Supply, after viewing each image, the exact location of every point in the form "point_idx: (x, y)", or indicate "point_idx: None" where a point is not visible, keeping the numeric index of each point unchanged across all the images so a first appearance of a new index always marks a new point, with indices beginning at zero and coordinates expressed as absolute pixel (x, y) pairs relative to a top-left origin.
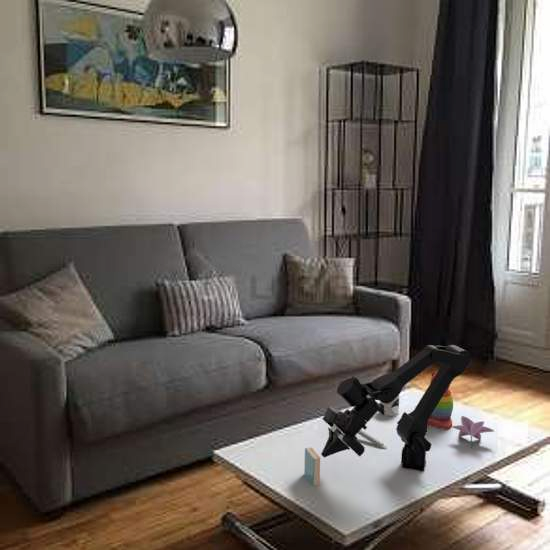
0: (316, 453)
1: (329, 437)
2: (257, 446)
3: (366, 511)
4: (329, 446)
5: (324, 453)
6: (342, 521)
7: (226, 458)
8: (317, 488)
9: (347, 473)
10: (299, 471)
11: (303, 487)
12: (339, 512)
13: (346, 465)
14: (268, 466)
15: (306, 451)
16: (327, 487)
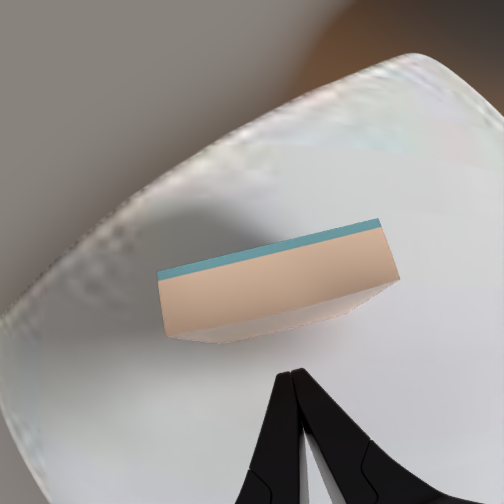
0: (265, 314)
1: (411, 498)
2: (497, 136)
3: (43, 449)
4: (261, 469)
5: (272, 397)
6: (7, 354)
7: (401, 59)
8: None
9: None
10: None
11: None
12: (36, 364)
13: None
14: (385, 141)
15: (340, 233)
16: (193, 377)
